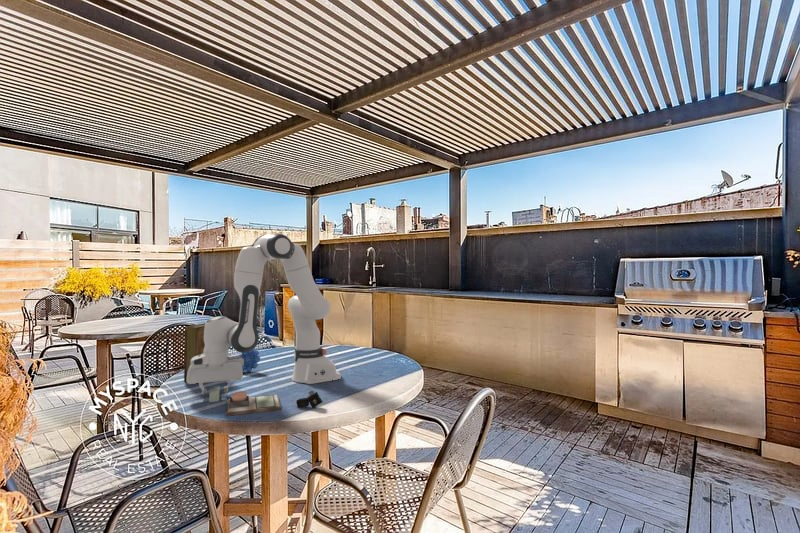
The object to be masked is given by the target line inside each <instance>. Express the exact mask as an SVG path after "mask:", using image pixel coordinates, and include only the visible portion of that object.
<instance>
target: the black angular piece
mask: <svg viewBox="0 0 800 533" xmlns="http://www.w3.org/2000/svg"><path fill="white" fill-rule="evenodd" d="M308 394H309V395H307V397H304V398H303V397H302V398H299V399H297V400H295V401H296V407H297V408H301V409H302V408H303V409H304V408H306V407H308V406H309V405H310V406H311V408H312V409H314V408H315V407H317V406H319V405H321V404H322V403H323V401H324V400H322V399H321V397H320V395H319V393H318V391H314V390H310V391H309V392H308Z"/></svg>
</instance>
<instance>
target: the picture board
mask: <svg viewBox="0 0 800 533" xmlns="http://www.w3.org/2000/svg"><path fill="white" fill-rule="evenodd" d="M281 408H282V406H281V403H280V399H279V396H278V394H274V393H273V394H262V395H255V396H249V395H248V394H247V400H246V401H241V402H232V396H230V397H229V399H228V400H227V406H226V416H237V415H245V414H252V413H254V414H255V413H261V412H270V411H279V410H281Z"/></svg>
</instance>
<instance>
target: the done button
mask: <svg viewBox="0 0 800 533" xmlns="http://www.w3.org/2000/svg"><path fill="white" fill-rule="evenodd" d="M247 396H248V392H246V391H235V392H233V393H231V397H232V402H241V401H246V400H247Z"/></svg>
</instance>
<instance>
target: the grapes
mask: <svg viewBox="0 0 800 533" xmlns="http://www.w3.org/2000/svg"><path fill="white" fill-rule="evenodd" d="M259 354H260V353H259V350H255V348H254V349H253V350H251V351H250V352H246V353H240V354H239V355H238V356H240V357H242V358H243V359H244V365H243V366H242V370H243V372H245V371H246V372H247V373H249V372H250V373H251V372H252V371H253V369H257V367H258V366H259V364H258V363H259V362H260V361H261V357H260V356H259ZM242 358H240V359H242Z"/></svg>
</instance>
